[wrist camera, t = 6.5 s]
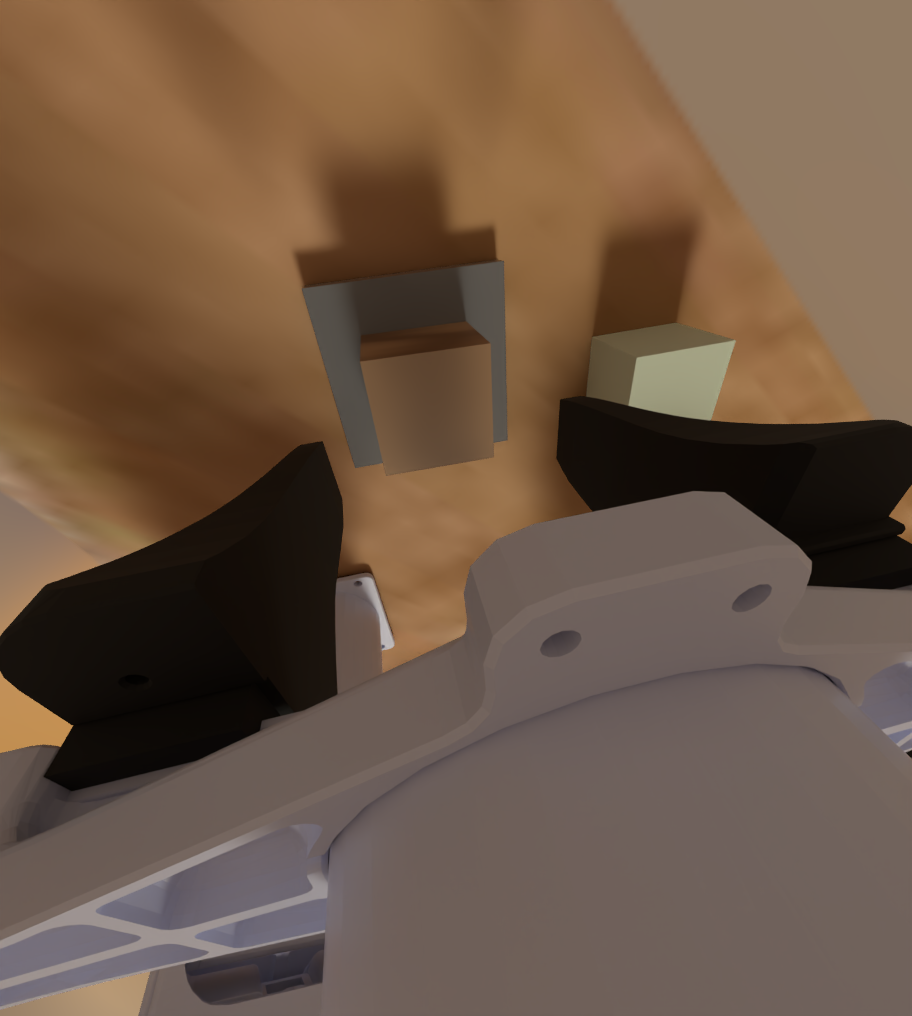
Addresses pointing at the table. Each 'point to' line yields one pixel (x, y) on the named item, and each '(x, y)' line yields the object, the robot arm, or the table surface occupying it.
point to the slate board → (402, 306)
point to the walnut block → (429, 395)
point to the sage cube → (660, 369)
